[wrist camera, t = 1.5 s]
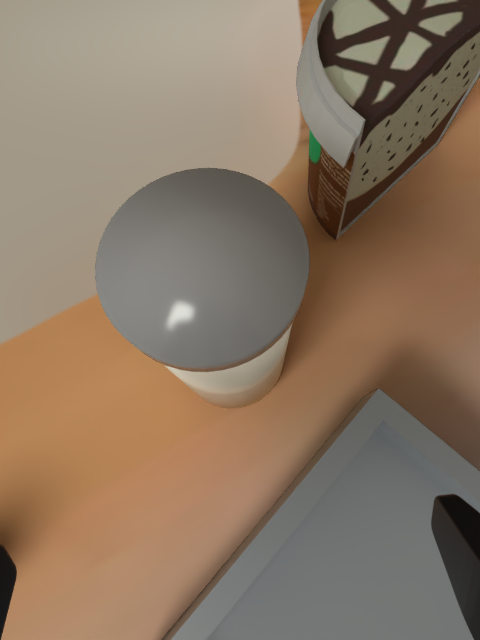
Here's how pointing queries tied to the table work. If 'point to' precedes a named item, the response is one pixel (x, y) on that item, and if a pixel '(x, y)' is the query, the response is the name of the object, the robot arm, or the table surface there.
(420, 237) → the table surface
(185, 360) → the grey round glossy part
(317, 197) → the food container
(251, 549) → the charcoal tray
